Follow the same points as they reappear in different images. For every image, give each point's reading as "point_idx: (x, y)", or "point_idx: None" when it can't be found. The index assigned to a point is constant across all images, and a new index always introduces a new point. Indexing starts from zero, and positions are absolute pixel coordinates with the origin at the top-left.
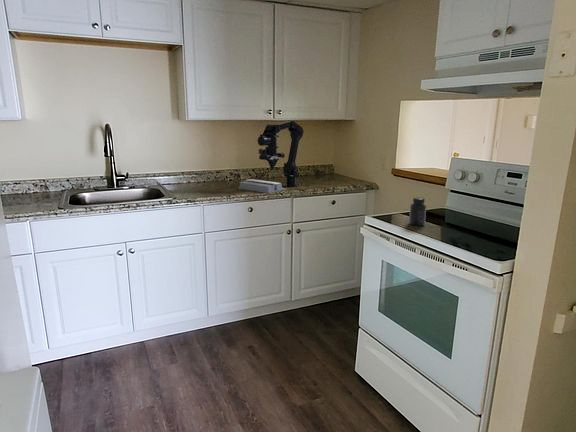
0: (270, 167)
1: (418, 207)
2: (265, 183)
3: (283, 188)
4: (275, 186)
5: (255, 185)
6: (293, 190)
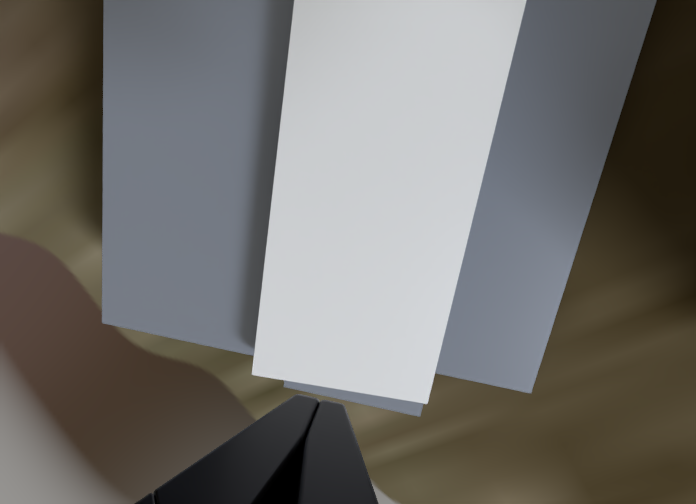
0: (241, 438)
1: None
2: None
3: (491, 368)
4: None
5: (112, 17)
6: (503, 489)
